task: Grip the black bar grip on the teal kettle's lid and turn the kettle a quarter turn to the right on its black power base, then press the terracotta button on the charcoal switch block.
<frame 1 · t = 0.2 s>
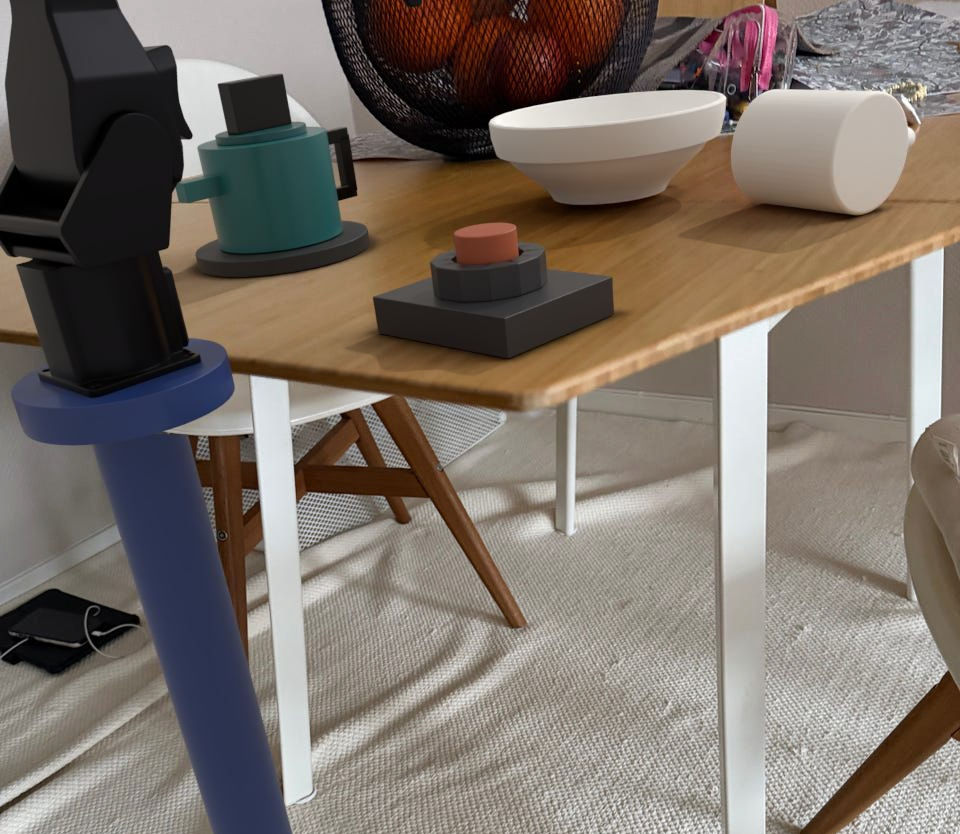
hand: (464, 1, 66), 16 cm above the table, tool pointing down, fingers open, 9 cm apart
switch block: (494, 324, 65), on the table
kettle base: (284, 254, 89), on the table
switch: (486, 245, 63), point 5 cm above the table, slide at 0.2 cm
kettle: (267, 161, 85), point 7 cm above the table, hinge at 0.0°
bowl: (609, 201, 94), on the table
mug: (832, 205, 83), on the table
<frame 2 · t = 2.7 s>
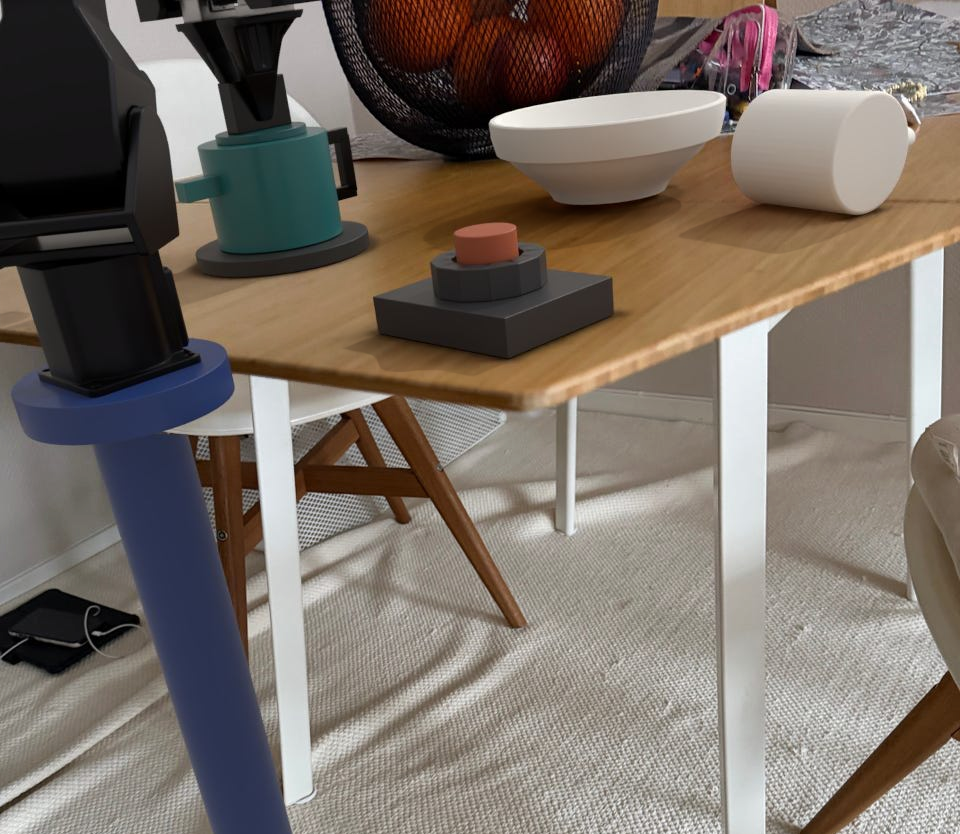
hand: (258, 120, 84), 10 cm above the table, tool pointing down, fingers closed on kettle, 2 cm apart
kettle: (267, 161, 85), point 7 cm above the table, hinge at 0.0°, touching gripper
everything else where it was.
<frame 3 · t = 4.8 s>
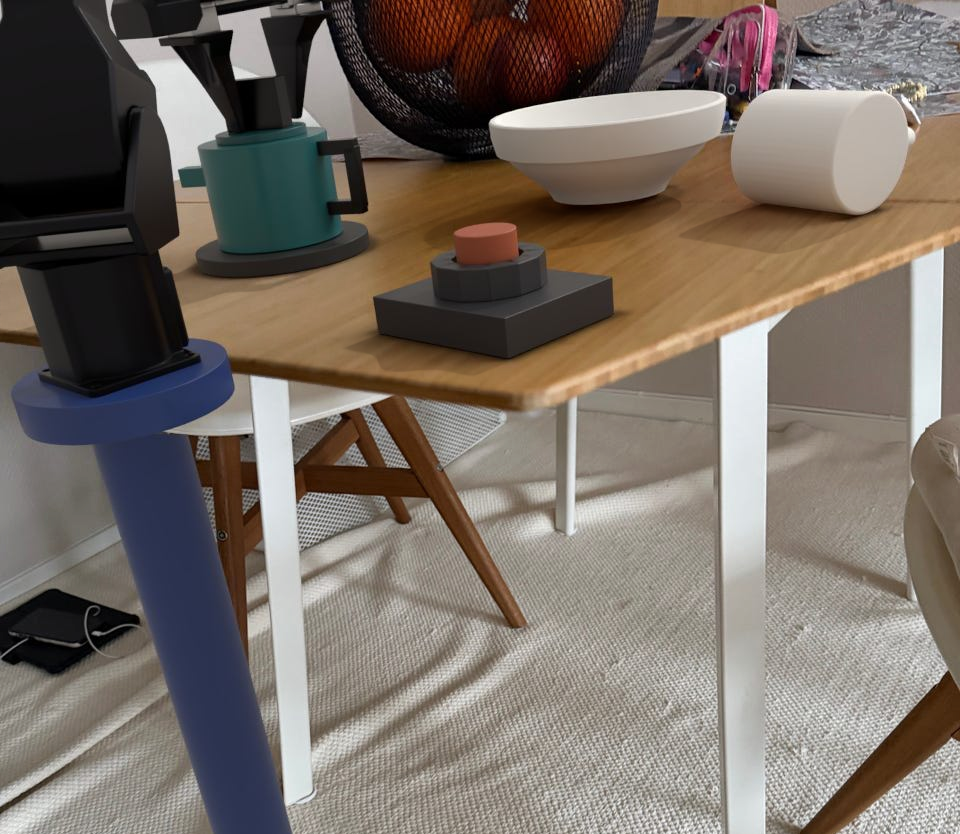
hand: (268, 125, 84), 9 cm above the table, tool pointing down, fingers open, 5 cm apart
kettle: (267, 161, 85), point 7 cm above the table, hinge at -66.1°, touching gripper
everything else where it was.
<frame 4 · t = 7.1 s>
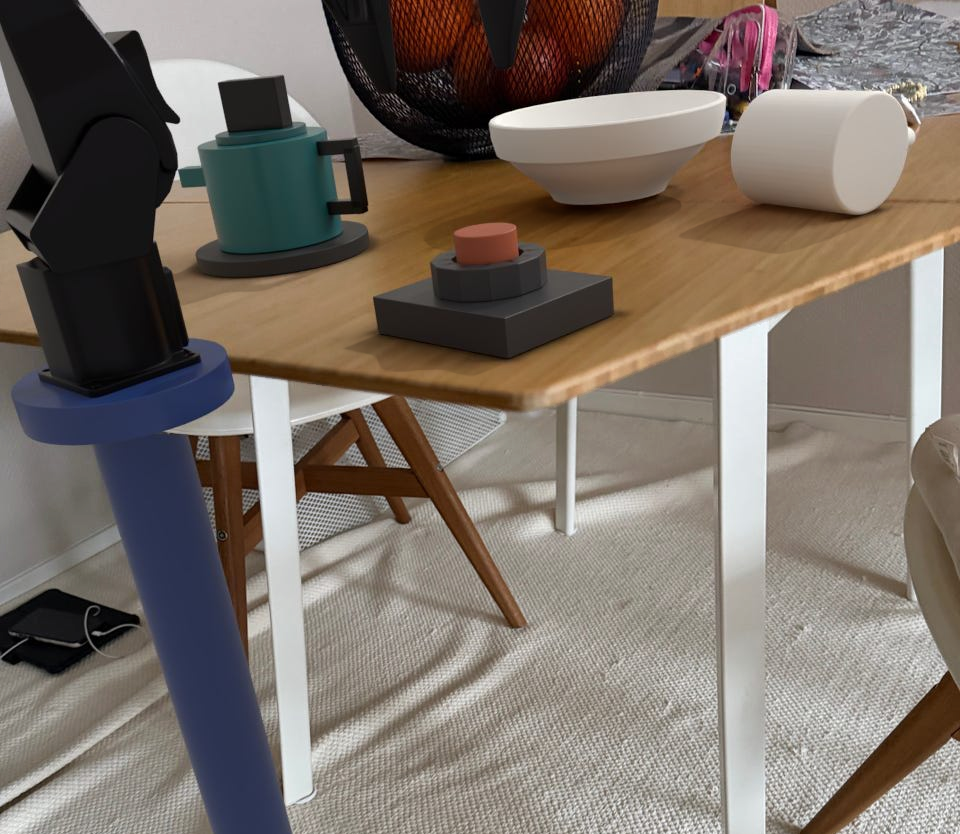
hand: (448, 80, 60), 13 cm above the table, tool pointing down, fingers open, 9 cm apart
kettle: (267, 161, 85), point 7 cm above the table, hinge at -66.2°
everything else where it was.
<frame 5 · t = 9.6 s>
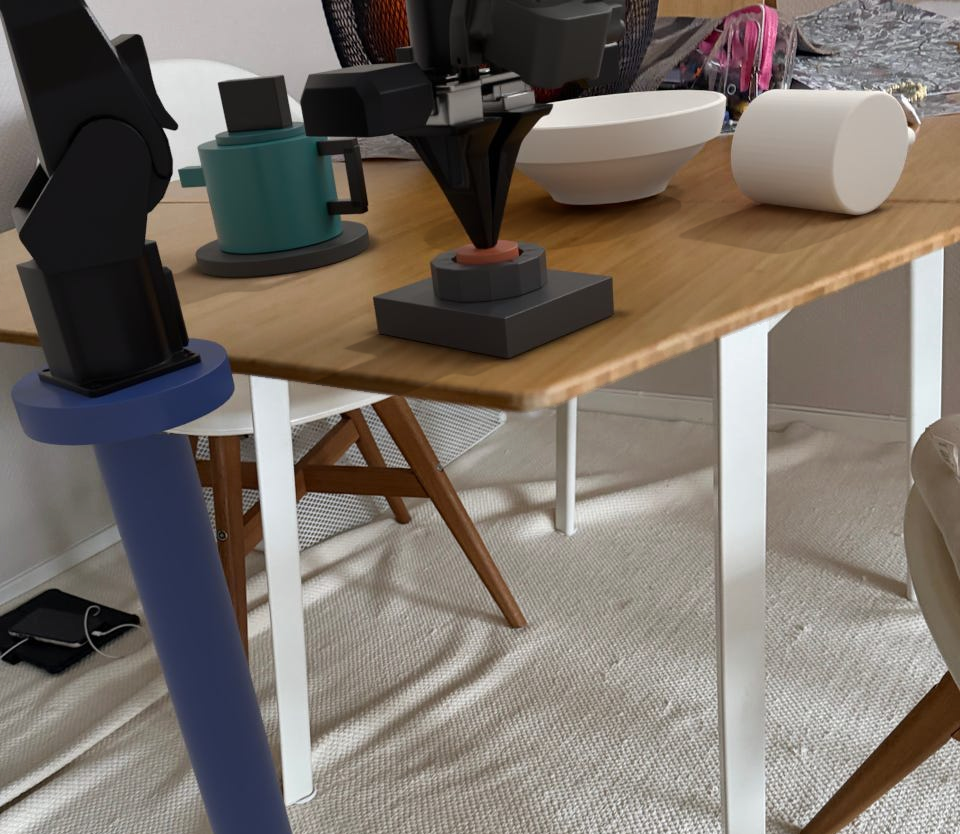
hand: (485, 247, 63), 4 cm above the table, tool pointing down, fingers closed, pressing on switch
switch: (488, 262, 63), point 4 cm above the table, slide at -0.8 cm, touching gripper
everything else where it was.
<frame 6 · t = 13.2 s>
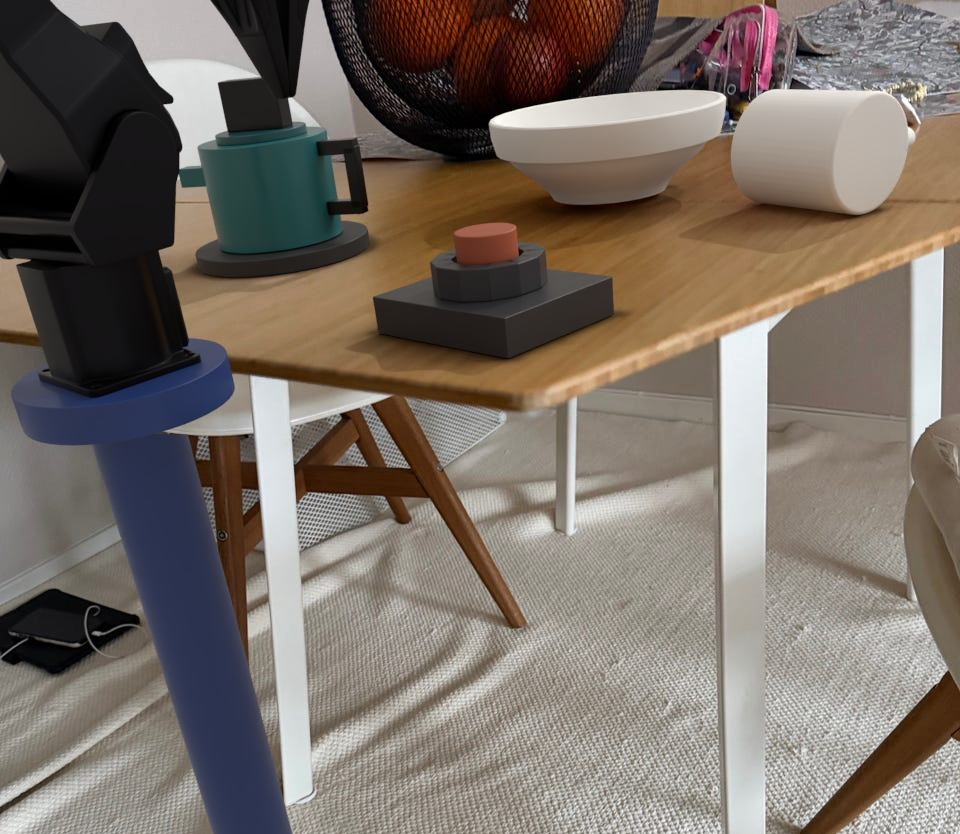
hand: (285, 98, 62), 13 cm above the table, tool pointing down, fingers closed
switch: (486, 245, 63), point 5 cm above the table, slide at 0.2 cm
everything else where it was.
at the end: kettle at -66° (first picture: +0°); switch pushed in 1.1 cm at the most during the clip, back to 0.2 cm at the end; switch slide at 0.2 cm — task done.
